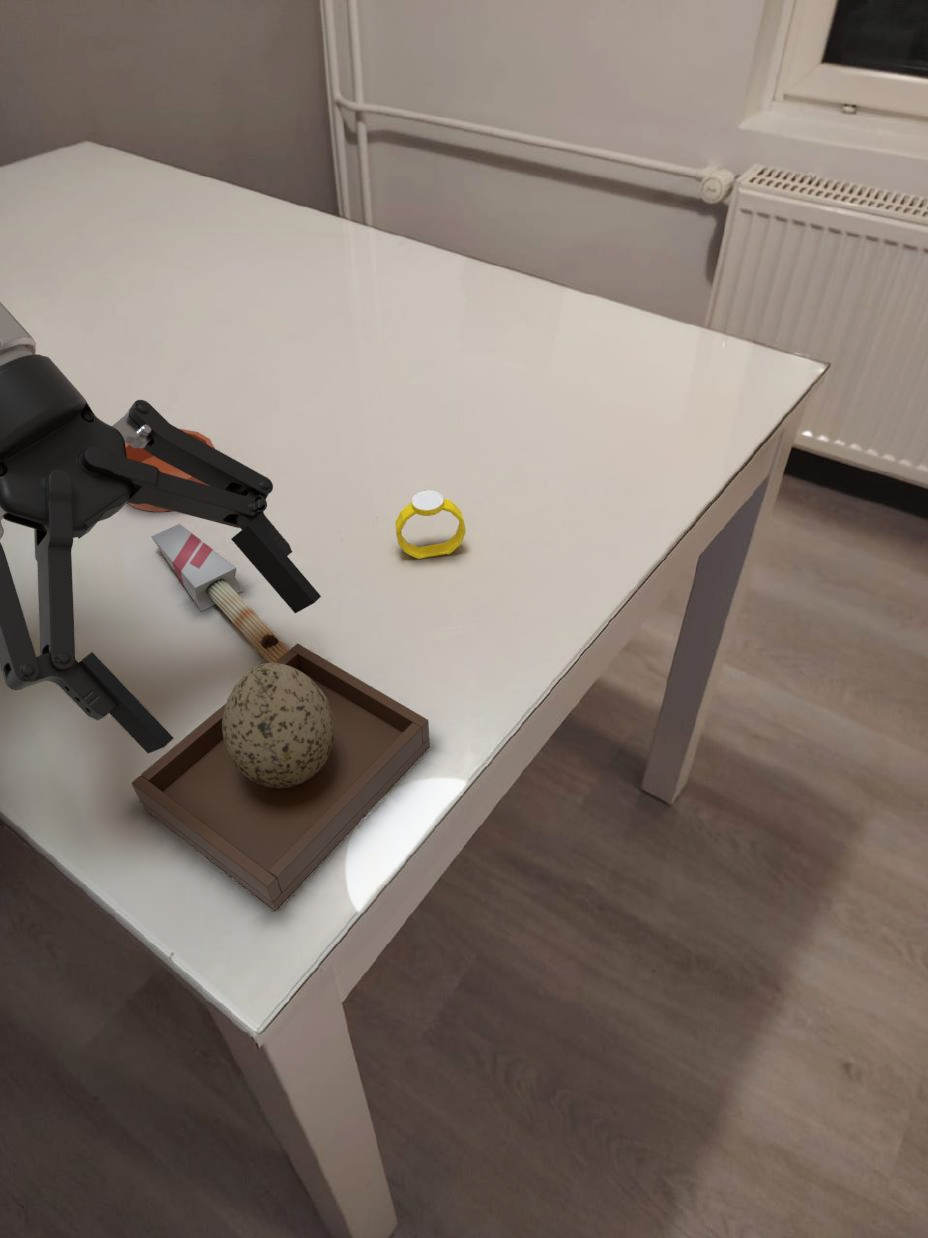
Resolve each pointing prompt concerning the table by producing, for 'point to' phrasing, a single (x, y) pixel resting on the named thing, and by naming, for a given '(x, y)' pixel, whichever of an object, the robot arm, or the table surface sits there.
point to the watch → (427, 506)
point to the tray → (284, 817)
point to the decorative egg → (278, 726)
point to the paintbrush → (215, 586)
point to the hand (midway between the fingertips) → (240, 670)
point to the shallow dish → (162, 466)
